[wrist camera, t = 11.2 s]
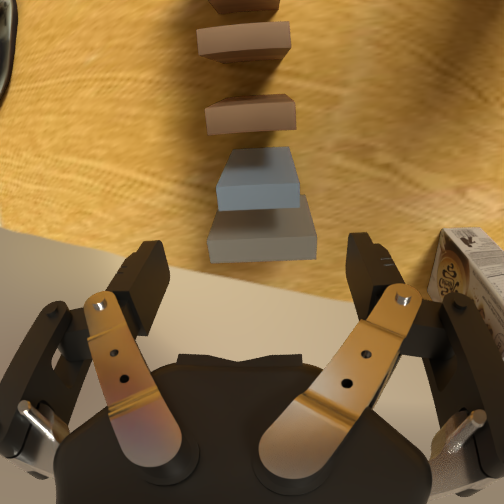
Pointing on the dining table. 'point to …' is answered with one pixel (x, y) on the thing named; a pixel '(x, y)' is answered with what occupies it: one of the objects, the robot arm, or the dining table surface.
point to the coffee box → (472, 275)
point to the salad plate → (7, 40)
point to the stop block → (263, 235)
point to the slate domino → (259, 180)
